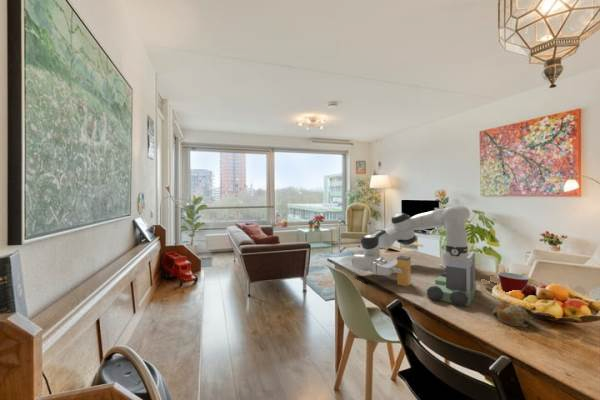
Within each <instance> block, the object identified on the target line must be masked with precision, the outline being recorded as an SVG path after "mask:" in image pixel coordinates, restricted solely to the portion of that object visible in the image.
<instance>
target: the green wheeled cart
mask: <svg viewBox="0 0 600 400" xmlns="http://www.w3.org/2000/svg"><path fill="white" fill-rule="evenodd" d="M470 262H471V263H470ZM434 281H435V282H434V283H431V284H430V285H429V286H428V287H427V288H426V298H427V299H430V300H431V301H433V302H434V301H435V302H438V301H441V302H446V303H451V304H453V305H455V306H457V307H463V306H465V307H470V305H471V303H472V301H473V298H474V296H475V294H476V292H477V282H476V251H474V250H472V251H471V252H469V253H468V257H467V258H466V262H458V261H450V262H449V263H448V264H447V265H446V268H445V271H444V272H443V273H442V274H441V275H439V276H437V278H435V279H434Z"/></svg>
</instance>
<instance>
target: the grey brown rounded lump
mask: <svg viewBox="0 0 600 400" xmlns="http://www.w3.org/2000/svg"><path fill="white" fill-rule="evenodd" d="M521 307H522V306H521ZM521 307H518V306H516V305H513V304H510V303H506V302H505V303H501V304H499V305H497V306H494V309H493V310H492V314H493V316H494V317H495V318H496V319H497V321H499V322H500V323H503V324H505V325H508V326H512V327H517V328H518V327H519V328H527V327H528V325H529V324H530V323H531V317H530V314H529V313H528V312H527V310H526V309H524V308H523V307H522V308H523V309H522V308H521Z"/></svg>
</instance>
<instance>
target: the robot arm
mask: <svg viewBox="0 0 600 400" xmlns="http://www.w3.org/2000/svg"><path fill="white" fill-rule="evenodd" d="M470 214H471V213H470V210H469V209H468V207H466V206H464V205H459V204H458V205H449V206H447V207H443V208H439V209H434V210H430V211H427V212H421V213H418V214H415V215H413V216H411V215H409V214H407V213H404V212H399V213H398V212H397V213H396V214H394V215H393V216H392V217H391V223H392V226H393V227H386V228H384V229H377V230H375V231H372V232H371V233H368V234H366V235H363V237H362V238H361V239H360V244H361V247H362V248H361V249H362V254H360V253H355V254H353V255H352V258H351V264H352V266H353V268H355V269H357V270H360V271H365V272H369V271H370V272H371V273H372V275H374V276H375V275H376V276H377V275H383V276H390V275H392V274H394V273H396V274H397V273H402V272H403V269H397V259H393V258H390V259H385V257H383V256H381V250H380V248H381V249H384V250H385V249H390V248H391V247H392V246H394V244H395V242H397V243H399V244H401V245H403V246H409V245H412V244H413V243H415V242H416V240H417V237H416V234H415V231H422V230H428V229H436V228H439V227H444V228H445V239H446V243H445V251H444V252H443V253H442V263H440V264H439V267H440V268H441V267H442V268H443V269H446V265H447V264H448V263H449V262H450V261H458V262H466V258H467V257H468V255H469V253H468V252H469V247H468V233H467V230H466V226H465V222H466V221H468V220H469V219H470V216H471V215H470ZM470 263H472V261H470Z"/></svg>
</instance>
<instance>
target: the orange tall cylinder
mask: <svg viewBox="0 0 600 400" xmlns="http://www.w3.org/2000/svg"><path fill="white" fill-rule="evenodd" d="M411 259H412V257H411V256H406V255H399V256H398V257H397V258H396V260H397V269H403V272H402V273H396V274H397V275H396V277H397V285H398V286H404V287H409V286H410V285H411V282H412V281H411V277H412V275H411Z"/></svg>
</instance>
